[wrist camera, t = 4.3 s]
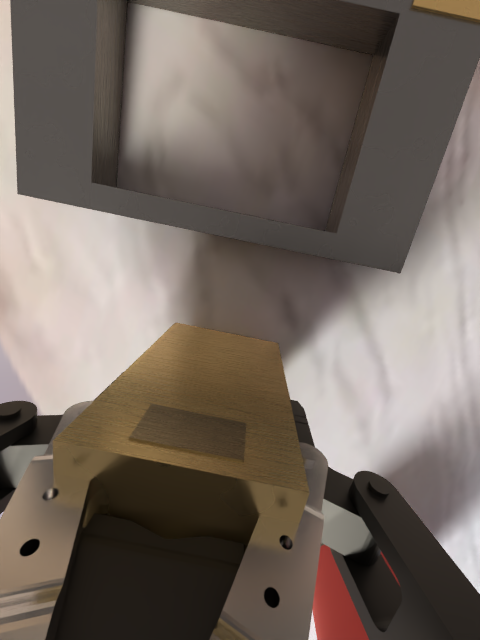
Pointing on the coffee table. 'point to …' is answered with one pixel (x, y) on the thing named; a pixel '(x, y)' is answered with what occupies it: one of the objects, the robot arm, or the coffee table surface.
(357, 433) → the coffee table surface
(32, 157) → the grey rectangular frame
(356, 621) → the beer can
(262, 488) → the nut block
